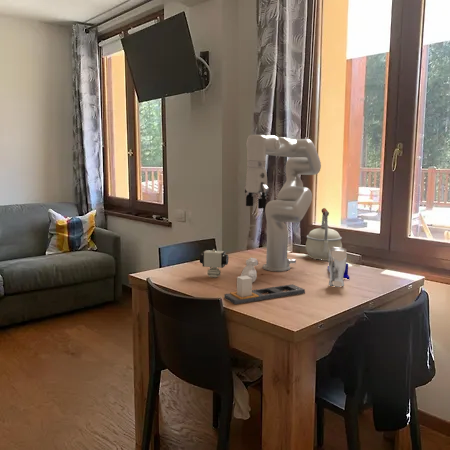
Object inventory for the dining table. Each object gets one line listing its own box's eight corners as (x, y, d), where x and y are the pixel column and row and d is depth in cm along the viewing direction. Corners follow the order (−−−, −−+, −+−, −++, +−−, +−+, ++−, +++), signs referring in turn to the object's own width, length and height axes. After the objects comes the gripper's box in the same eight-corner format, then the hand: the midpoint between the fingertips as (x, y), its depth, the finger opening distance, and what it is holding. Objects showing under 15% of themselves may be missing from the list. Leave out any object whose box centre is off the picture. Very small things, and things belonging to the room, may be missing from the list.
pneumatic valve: (225, 278, 190) (226, 251, 188) (199, 277, 192) (199, 249, 191) (228, 275, 195) (229, 248, 193) (202, 273, 198) (202, 247, 196)
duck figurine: (250, 291, 180) (268, 269, 179) (235, 280, 179) (253, 258, 178) (247, 283, 192) (263, 262, 191) (233, 272, 191) (249, 251, 190)
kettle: (304, 252, 244) (306, 206, 241) (339, 253, 242) (341, 207, 238) (306, 263, 220) (308, 212, 216) (344, 264, 217) (347, 213, 214)
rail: (292, 287, 177) (292, 283, 177) (304, 293, 170) (304, 288, 170) (224, 298, 164) (224, 293, 163) (234, 304, 157) (235, 299, 156)
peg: (246, 296, 166) (246, 275, 164) (251, 299, 162) (252, 278, 161) (236, 298, 164) (236, 276, 163) (242, 301, 160) (242, 279, 159)
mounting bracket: (327, 269, 208) (328, 257, 207) (343, 270, 207) (344, 257, 207) (331, 280, 191) (332, 266, 190) (349, 281, 190) (350, 267, 189)
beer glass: (335, 288, 176) (337, 251, 174) (323, 284, 183) (325, 248, 180) (348, 286, 180) (350, 249, 177) (337, 282, 186) (338, 246, 184)
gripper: (275, 165, 178) (274, 208, 181) (253, 165, 194) (252, 204, 196) (259, 165, 175) (258, 209, 177) (238, 165, 190) (237, 205, 193)
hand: (255, 207), depth 187 cm, fingers open, 9 cm apart
